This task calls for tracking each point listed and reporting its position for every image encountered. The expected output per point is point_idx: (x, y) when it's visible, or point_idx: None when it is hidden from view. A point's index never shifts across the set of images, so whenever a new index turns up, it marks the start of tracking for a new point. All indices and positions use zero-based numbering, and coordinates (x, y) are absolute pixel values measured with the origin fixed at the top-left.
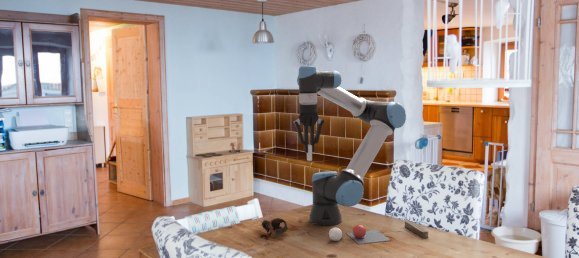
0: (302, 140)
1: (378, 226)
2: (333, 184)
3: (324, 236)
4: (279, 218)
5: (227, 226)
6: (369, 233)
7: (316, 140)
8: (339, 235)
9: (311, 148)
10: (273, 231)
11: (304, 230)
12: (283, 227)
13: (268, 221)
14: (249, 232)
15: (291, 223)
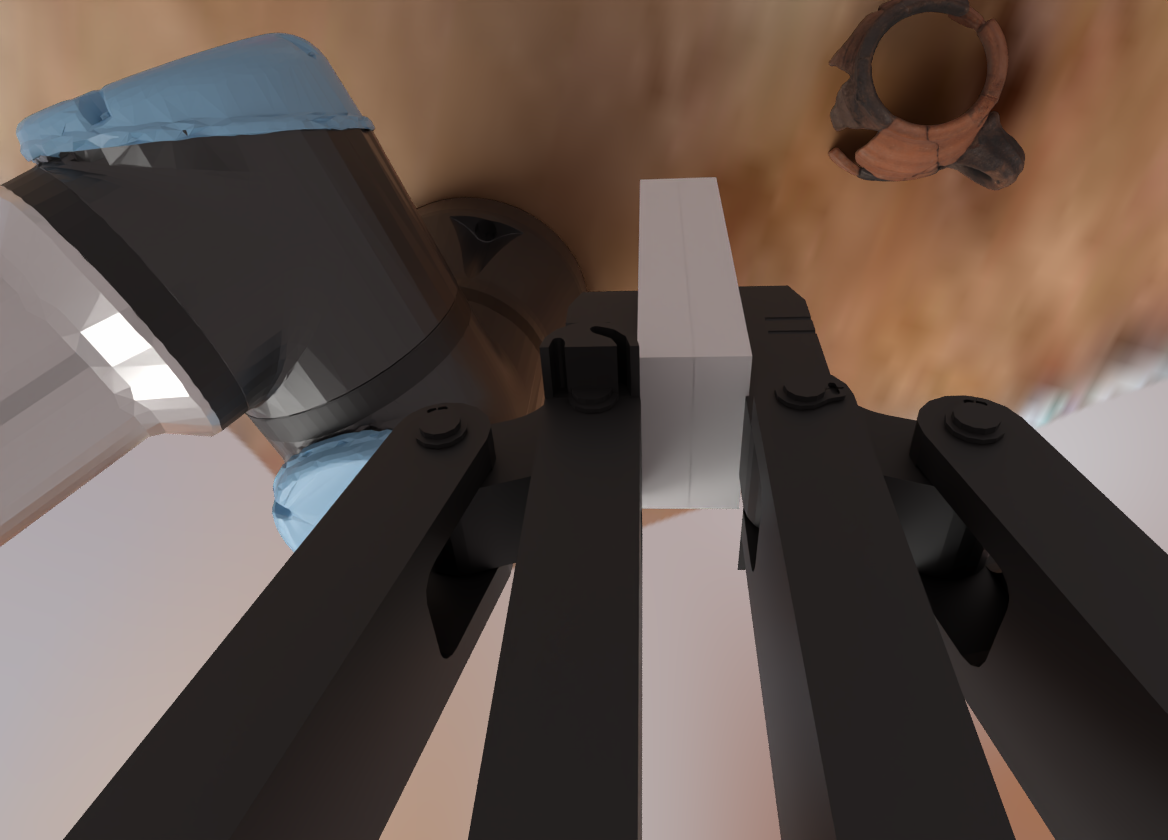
0: (1006, 475)
1: (118, 79)
2: (350, 252)
3: None
4: (905, 130)
5: (1136, 357)
6: None
7: (453, 458)
8: None
9: (648, 308)
10: (975, 15)
11: (670, 135)
12: (895, 19)
13: (980, 154)
14: (1061, 197)
15: None
